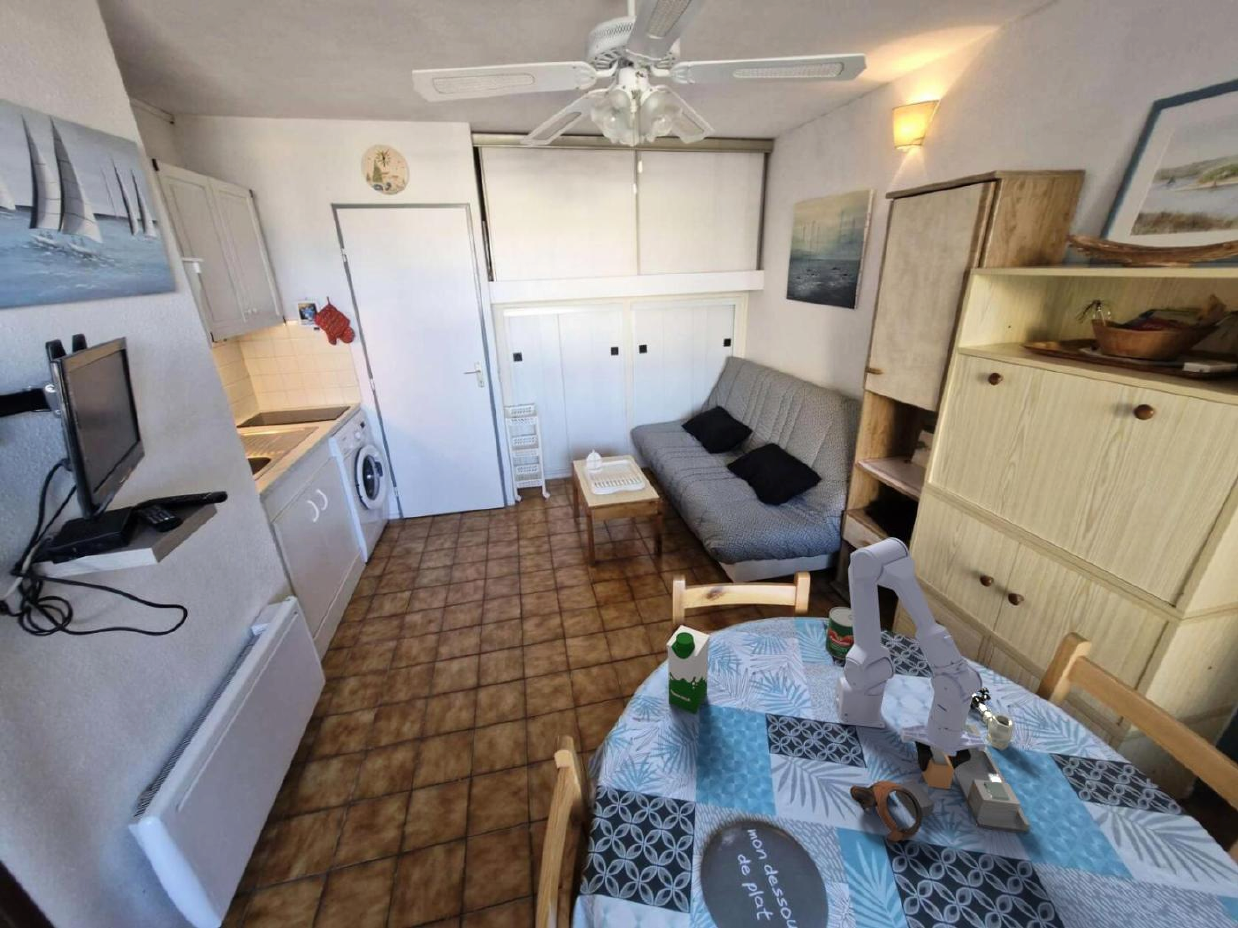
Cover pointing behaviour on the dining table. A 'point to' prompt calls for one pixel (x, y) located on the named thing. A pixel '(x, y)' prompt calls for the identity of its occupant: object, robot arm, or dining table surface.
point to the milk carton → (688, 668)
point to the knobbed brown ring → (880, 794)
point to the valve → (993, 722)
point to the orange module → (938, 770)
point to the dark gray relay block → (919, 794)
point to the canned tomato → (839, 632)
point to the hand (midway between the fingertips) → (933, 768)
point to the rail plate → (965, 786)
